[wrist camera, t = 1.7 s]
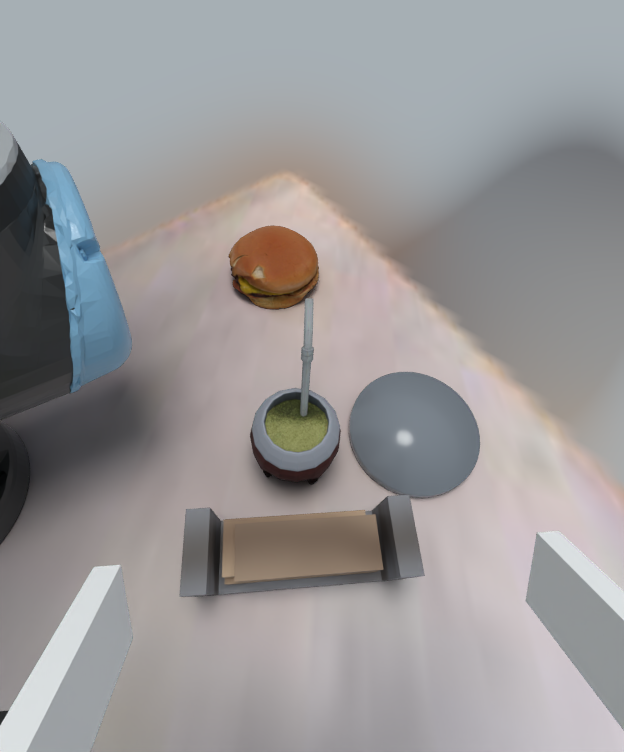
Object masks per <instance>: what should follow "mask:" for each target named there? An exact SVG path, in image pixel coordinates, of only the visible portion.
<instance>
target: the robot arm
mask: <svg viewBox="0 0 624 752" xmlns="http://www.w3.org/2000/svg"><path fill="white" fill-rule="evenodd" d="M131 349H132V339H131V334H130V331H129V327H128V323H127V320H126V317H125V314H124V311H123V308H122V305H121V302H120V299H119V296H118V293H117V291H116V288H115V285H114V282H113V279H112V277H111V274H110V272H109V269H108V266H107V264H106V261H105V259H104V257H103V255H102V254H101V251H100V246H99V243H98V241H97V238H96V236H95V233H94V231H93V227H92V224H91V221H90V219H89V216H88V214H87V211H86V209H85V206H84V204H83V201H82V199H81V197H80V194H79V192H78V189H77V187H76V185H75V183H74V180H73V178H72V176H71V175H70V173H69V171H68V169H67V168H66V167H65V166H64V165H62V164H61V163H58V162H46V161H44V160H42V159H40V160H35V161H33V164H31V165H30V164H29V162H28V160H27V159H26V157H25V155H24V153H23V152H22V150H21V148H20V146H19V145H18V143H17V141H16V139H15V138H14V136H13V134H12V133H11V131H10V130H9V128H8V127H7V126H6V125H4V123H3V122H1V121H0V420H2V419H4V418H7V417H10V416H12V415H15V414H17V413H20V412H22V411H25V410H27V409H30V408H32V407H35V406H37V405H40V404H42V403H45V402H47V401H50V400H52V399H55V398H57V397H60V396H63V395H65V394H68V393H73V392H75V391H78V390H79V389H80V387H81V386H82V385H84V384H86V383H88V382H91V381H93V380H95V379H97V378H99V377H101V376H103V375H105V374H107V373H109V372H111V371H113V370H116V369H117V368H119V367H120V366H121V365H122V364H124V362H125V361H126V360H127V358H128V357H129V355H130V352H131ZM29 477H30V467H29V459H28V455H27V451H26V448H25V446H24V444H23V442H22V440H21V439H20V437H19V436H18V435H17V433H16V432H15V431H14V430H13V429H12V428H10V427H9V426H8V425H6V424H5V423H3V422H2V421H0V543H1V541H2V540H3V539H4V538H5V536H6V535H7V533H8V532H9V530H10V529H11V527H12V526H13V524H14V522H15V521H16V519H17V517H18V515H19V513H20V511H21V508H22V506H23V503H24V500H25V497H26V494H27V490H28V485H29ZM526 602H527V603H528V605H529V606H530V607H531V609H532V610H533V611H534V613H535V614H536V615H537V617H538V618H539V619H540V620H541V622H542V623H543V624H544V626H545V627H546V628H547V630H548V631H549V632H550V634H551V635H552V636H553V638H554V639H555V640H556V642H557V643H558V644H559V646H560V647H561V648H562V650H563V651H564V652H565V654H566V655H567V656H568V658H569V659H570V660H571V661H572V663H573V664H574V665H575V667H576V668H577V669H578V671H579V672H580V673H581V675H582V676H583V677H584V679H585V680H586V681H587V683H588V684H589V685H590V687H591V688H592V689H593V691H594V692H595V693H596V695H597V696H598V697H599V699H600V700H601V701H602V702H603V704H604V705H605V706H606V708H607V709H608V710H609V712H610V713H611V714H612V716H613V717H614V718H615V720H616V721H617V722H618V724H619V725H620V726H621V728H622V729H623V730H624V591H623V590H622V589H621V588H620V587H619V586H618V585H617V584H616V583H614V582H613V581H612V580H611V579H610V578H609V577H608V576H607V575H606V574H605V573H604V572H603V571H602V570H600V569H599V568H598V567H597V566H596V565H595V564H594V563H593V562H592V561H591V560H590V559H589V558H587V557H586V556H585V555H584V554H583V553H582V552H581V551H580V550H579V549H578V548H577V547H576V546H575V545H573V544H572V543H571V542H570V541H569V540H568V539H567V538H566V537H565V536H564V535H563V534H562V533H560V532H559V531H551V532H539V533H537V535H536V541H535V547H534V553H533V559H532V565H531V571H530V577H529V583H528V590H527V596H526ZM132 639H133V634H132V628H131V622H130V616H129V610H128V605H127V599H126V593H125V587H124V581H123V575H122V569H121V565H112V566H99V567H94V568H93V569H92V571H91V573H90V574H89V576H88V578H87V579H86V581H85V583H84V584H83V586H82V588H81V590H80V591H79V593H78V595H77V596H76V598H75V600H74V601H73V603H72V605H71V606H70V608H69V610H68V612H67V613H66V615H65V617H64V618H63V620H62V622H61V623H60V625H59V627H58V629H57V630H56V632H55V634H54V635H53V637H52V639H51V640H50V642H49V644H48V645H47V647H46V649H45V651H44V652H43V654H42V656H41V657H40V659H39V661H38V662H37V664H36V666H35V667H34V669H33V671H32V673H31V674H30V676H29V678H28V679H27V681H26V683H25V684H24V686H23V688H22V689H21V691H20V693H19V695H18V696H17V698H16V700H15V701H14V703H13V705H12V706H11V708H10V710H9V711H1V712H0V752H91V749H92V746H93V744H94V741H95V738H96V736H97V733H98V730H99V728H100V725H101V722H102V720H103V717H104V714H105V711H106V709H107V706H108V703H109V701H110V698H111V695H112V693H113V690H114V687H115V685H116V682H117V679H118V677H119V674H120V671H121V669H122V666H123V663H124V661H125V658H126V655H127V652H128V650H129V647H130V644H131V642H132Z"/></svg>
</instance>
